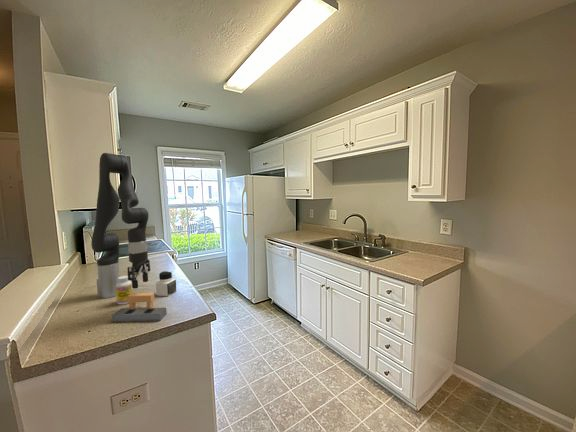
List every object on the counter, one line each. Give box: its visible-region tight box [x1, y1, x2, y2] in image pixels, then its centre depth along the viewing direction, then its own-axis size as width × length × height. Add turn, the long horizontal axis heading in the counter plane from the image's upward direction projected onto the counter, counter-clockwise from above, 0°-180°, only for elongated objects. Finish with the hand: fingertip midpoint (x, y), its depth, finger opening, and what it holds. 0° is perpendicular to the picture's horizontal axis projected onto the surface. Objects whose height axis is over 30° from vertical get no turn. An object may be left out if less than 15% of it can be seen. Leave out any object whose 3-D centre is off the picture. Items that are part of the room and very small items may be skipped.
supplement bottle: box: [115, 275, 133, 305], centre depth 123 cm, size 7×7×13 cm
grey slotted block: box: [111, 307, 168, 323], centre depth 107 cm, size 20×6×3 cm, turn 91°
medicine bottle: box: [155, 270, 177, 297], centre depth 134 cm, size 7×7×12 cm
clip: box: [127, 292, 155, 309], centre depth 117 cm, size 11×3×6 cm, turn 91°
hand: (140, 284), depth 116 cm, fingers open, 8 cm apart
